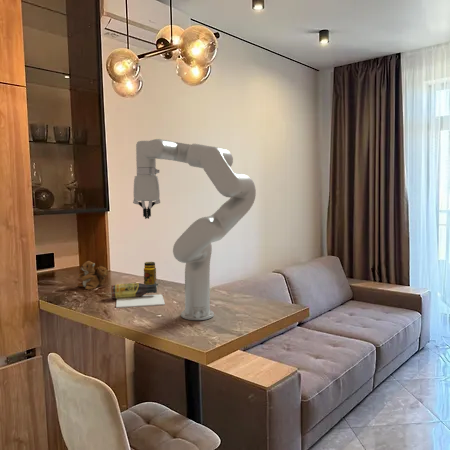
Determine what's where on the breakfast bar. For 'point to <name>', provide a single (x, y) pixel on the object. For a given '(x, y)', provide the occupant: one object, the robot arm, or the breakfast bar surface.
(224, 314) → the breakfast bar surface
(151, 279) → the condiment
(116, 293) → the sauce bottle
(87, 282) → the stuffed squirrel
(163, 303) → the mat
